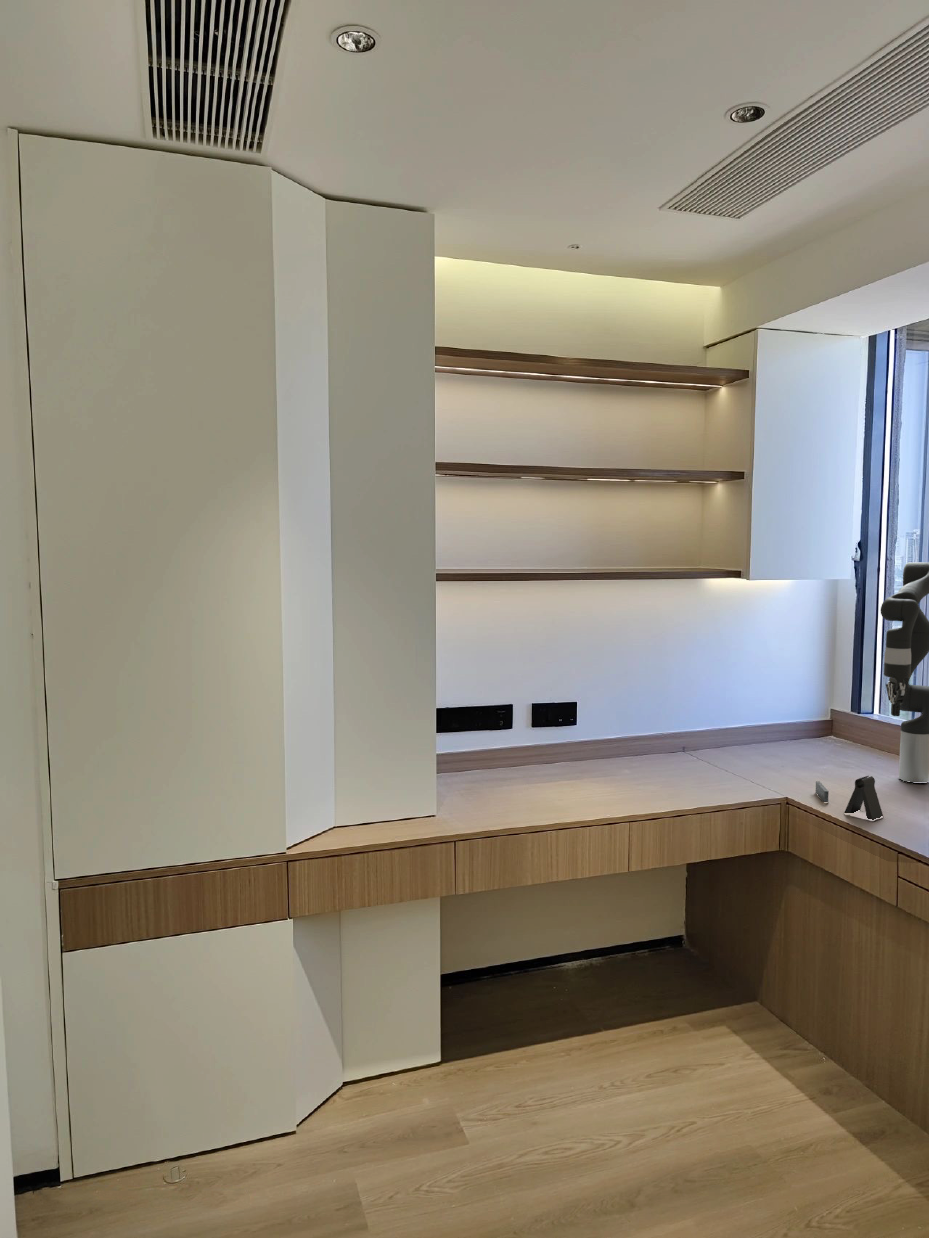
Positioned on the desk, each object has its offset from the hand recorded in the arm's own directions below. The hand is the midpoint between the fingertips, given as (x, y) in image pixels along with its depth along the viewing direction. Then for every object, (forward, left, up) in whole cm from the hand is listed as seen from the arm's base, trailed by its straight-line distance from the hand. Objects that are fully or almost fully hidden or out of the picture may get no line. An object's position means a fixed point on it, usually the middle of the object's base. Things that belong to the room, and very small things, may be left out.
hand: (895, 715), depth 262 cm
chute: (+4, -15, -27) cm, 31 cm away
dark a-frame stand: (+20, -14, -27) cm, 37 cm away
